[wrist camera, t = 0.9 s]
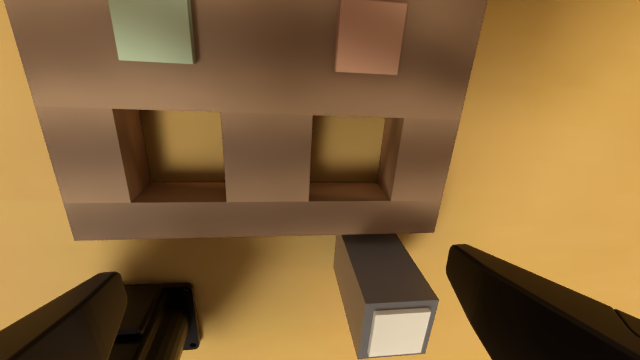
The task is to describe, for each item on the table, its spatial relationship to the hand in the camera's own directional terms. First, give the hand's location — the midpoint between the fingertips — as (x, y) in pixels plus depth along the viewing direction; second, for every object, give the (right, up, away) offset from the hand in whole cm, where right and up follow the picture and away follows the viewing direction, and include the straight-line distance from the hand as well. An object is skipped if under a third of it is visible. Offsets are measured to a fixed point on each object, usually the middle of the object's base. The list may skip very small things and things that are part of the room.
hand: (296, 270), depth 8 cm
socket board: (-3, +7, +11) cm, 13 cm away
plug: (+4, -3, +16) cm, 16 cm away
